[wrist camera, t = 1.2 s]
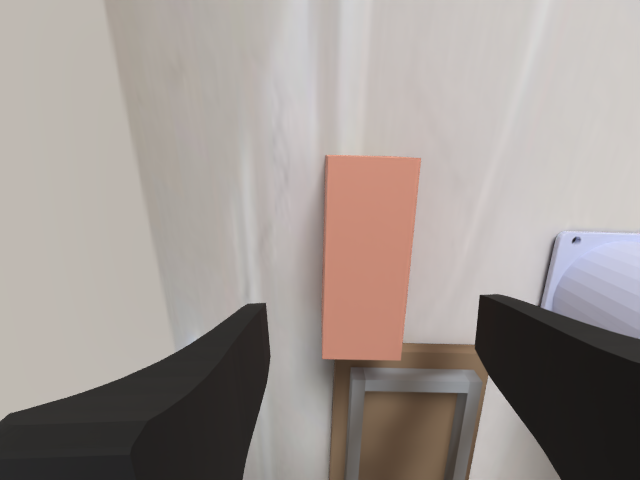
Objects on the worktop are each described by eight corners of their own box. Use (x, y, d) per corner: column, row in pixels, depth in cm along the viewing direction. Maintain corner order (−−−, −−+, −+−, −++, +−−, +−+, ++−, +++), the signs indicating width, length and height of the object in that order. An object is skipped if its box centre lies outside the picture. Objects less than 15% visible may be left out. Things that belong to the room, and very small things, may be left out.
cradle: (484, 345, 22) (502, 365, 20) (452, 522, 26) (464, 554, 24) (335, 341, 22) (337, 362, 20) (327, 520, 26) (327, 552, 24)
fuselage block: (395, 156, 19) (421, 158, 14) (382, 313, 22) (400, 360, 17) (325, 154, 19) (328, 156, 14) (321, 312, 22) (322, 359, 17)
